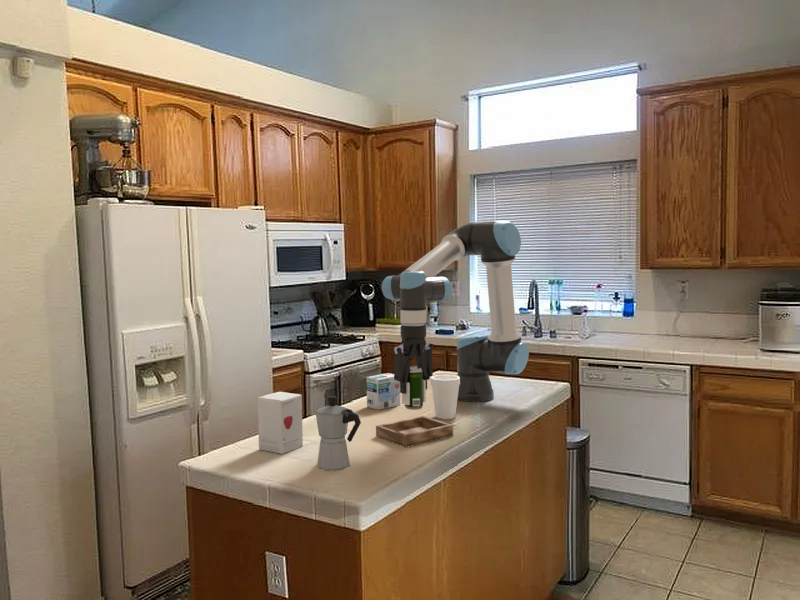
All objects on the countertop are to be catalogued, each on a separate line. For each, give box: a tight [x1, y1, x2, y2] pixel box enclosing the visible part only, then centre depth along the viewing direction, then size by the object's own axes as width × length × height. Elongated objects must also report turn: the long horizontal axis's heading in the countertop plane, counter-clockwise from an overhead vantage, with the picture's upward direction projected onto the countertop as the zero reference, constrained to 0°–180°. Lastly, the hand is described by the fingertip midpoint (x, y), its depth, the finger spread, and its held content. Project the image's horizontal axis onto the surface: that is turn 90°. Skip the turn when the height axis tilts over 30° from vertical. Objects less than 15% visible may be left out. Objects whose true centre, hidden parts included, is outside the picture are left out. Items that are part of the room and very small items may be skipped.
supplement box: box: [257, 391, 304, 455], centre depth 184 cm, size 9×9×15 cm
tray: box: [375, 415, 454, 448], centre depth 195 cm, size 18×14×3 cm
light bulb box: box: [366, 372, 401, 410], centre depth 232 cm, size 11×7×11 cm, turn 132°
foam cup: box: [430, 374, 460, 420], centre depth 217 cm, size 10×9×13 cm
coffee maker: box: [312, 395, 362, 472], centre depth 169 cm, size 15×9×18 cm, turn 58°
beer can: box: [404, 365, 424, 411], centre depth 194 cm, size 5×5×12 cm
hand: (413, 402), depth 194 cm, fingers closed on beer can, 5 cm apart
